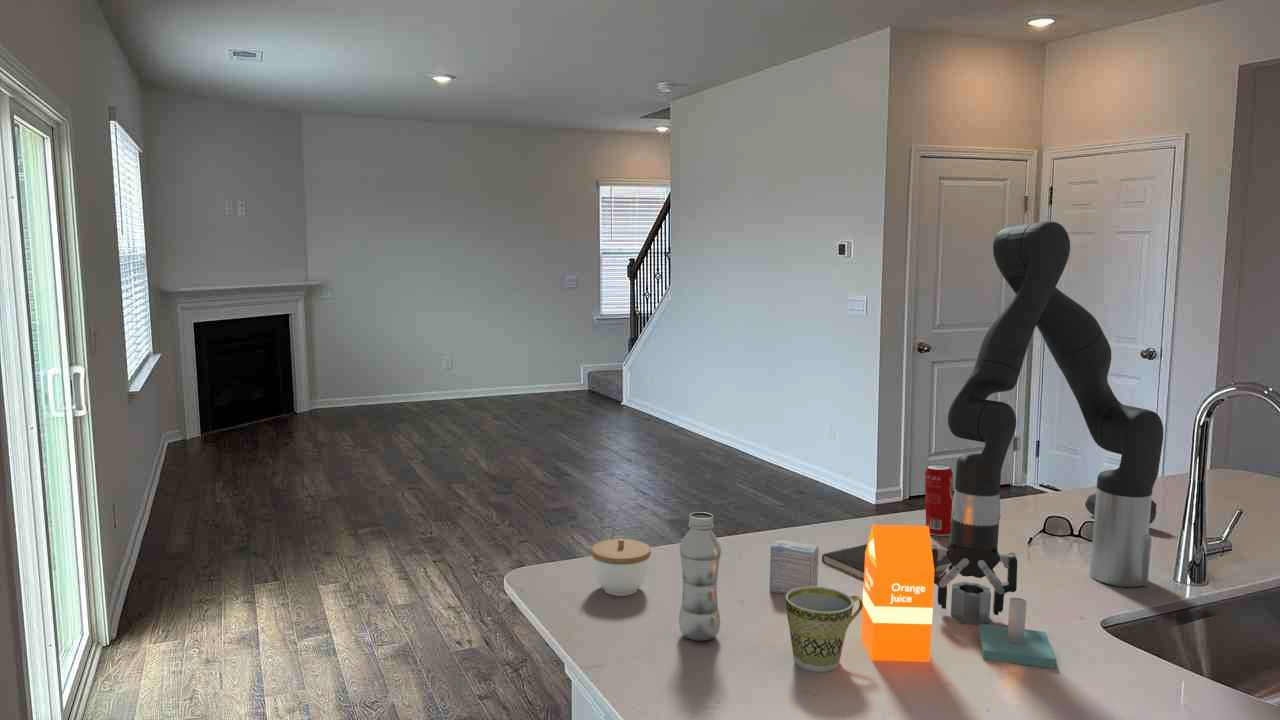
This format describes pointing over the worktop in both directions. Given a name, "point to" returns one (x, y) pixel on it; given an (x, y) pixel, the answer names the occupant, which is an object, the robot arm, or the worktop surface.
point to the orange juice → (898, 593)
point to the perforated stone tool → (1092, 499)
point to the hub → (970, 603)
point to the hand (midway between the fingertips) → (969, 610)
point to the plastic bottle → (700, 579)
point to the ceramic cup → (819, 625)
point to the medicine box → (793, 566)
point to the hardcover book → (863, 560)
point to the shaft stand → (1016, 640)
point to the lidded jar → (620, 565)
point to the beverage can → (938, 499)
